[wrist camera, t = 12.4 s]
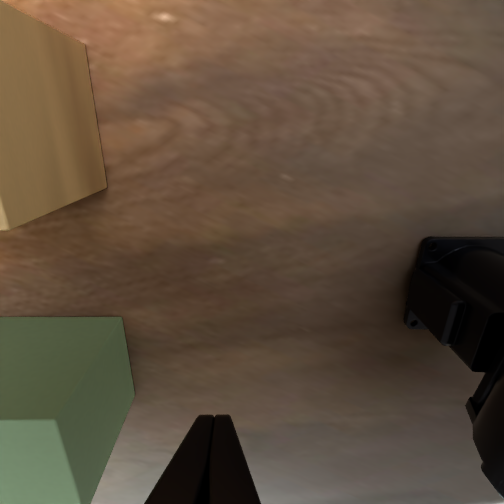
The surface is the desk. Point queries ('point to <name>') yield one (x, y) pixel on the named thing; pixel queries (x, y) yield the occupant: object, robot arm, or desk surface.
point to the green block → (60, 405)
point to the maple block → (44, 121)
